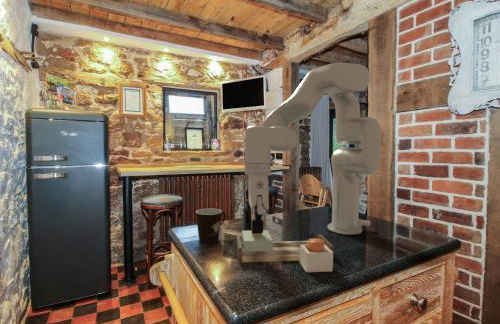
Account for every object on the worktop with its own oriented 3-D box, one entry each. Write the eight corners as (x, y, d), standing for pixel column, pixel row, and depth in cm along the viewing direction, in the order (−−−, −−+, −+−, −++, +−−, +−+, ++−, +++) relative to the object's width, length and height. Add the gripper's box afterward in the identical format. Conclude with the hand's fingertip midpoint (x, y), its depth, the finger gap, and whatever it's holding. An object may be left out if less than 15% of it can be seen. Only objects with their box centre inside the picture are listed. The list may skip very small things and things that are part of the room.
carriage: (267, 239, 86) (267, 211, 85) (272, 250, 77) (273, 219, 76) (241, 240, 85) (242, 211, 84) (244, 251, 76) (244, 219, 75)
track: (320, 246, 88) (320, 234, 88) (332, 259, 78) (333, 245, 78) (236, 248, 85) (236, 235, 85) (238, 262, 75) (238, 248, 75)
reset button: (320, 248, 76) (321, 238, 75) (326, 255, 71) (326, 243, 71) (305, 249, 75) (306, 238, 75) (310, 255, 71) (311, 244, 71)
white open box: (323, 261, 77) (324, 243, 77) (332, 271, 71) (333, 252, 71) (299, 262, 76) (300, 244, 76) (306, 272, 70) (306, 253, 70)
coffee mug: (200, 247, 86) (200, 215, 85) (192, 238, 94) (192, 209, 93) (234, 241, 91) (234, 212, 91) (224, 233, 99) (224, 206, 98)
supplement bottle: (261, 229, 105) (261, 198, 104) (260, 235, 98) (260, 202, 97) (243, 228, 106) (244, 197, 105) (241, 234, 99) (241, 201, 98)
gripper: (275, 172, 72) (274, 240, 73) (265, 166, 88) (264, 223, 89) (247, 171, 71) (246, 241, 72) (242, 166, 87) (241, 223, 88)
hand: (256, 230), depth 81 cm, fingers closed on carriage, 3 cm apart
